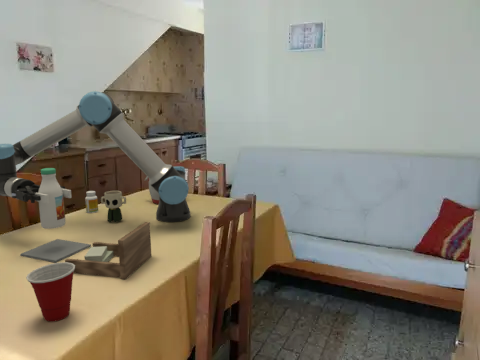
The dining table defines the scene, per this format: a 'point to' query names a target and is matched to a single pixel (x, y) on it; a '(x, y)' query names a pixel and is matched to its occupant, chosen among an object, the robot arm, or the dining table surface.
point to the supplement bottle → (91, 202)
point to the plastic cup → (53, 289)
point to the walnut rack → (120, 255)
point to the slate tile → (55, 250)
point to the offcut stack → (99, 254)
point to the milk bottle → (51, 201)
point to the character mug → (113, 205)
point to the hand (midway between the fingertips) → (59, 196)
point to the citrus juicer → (153, 193)
